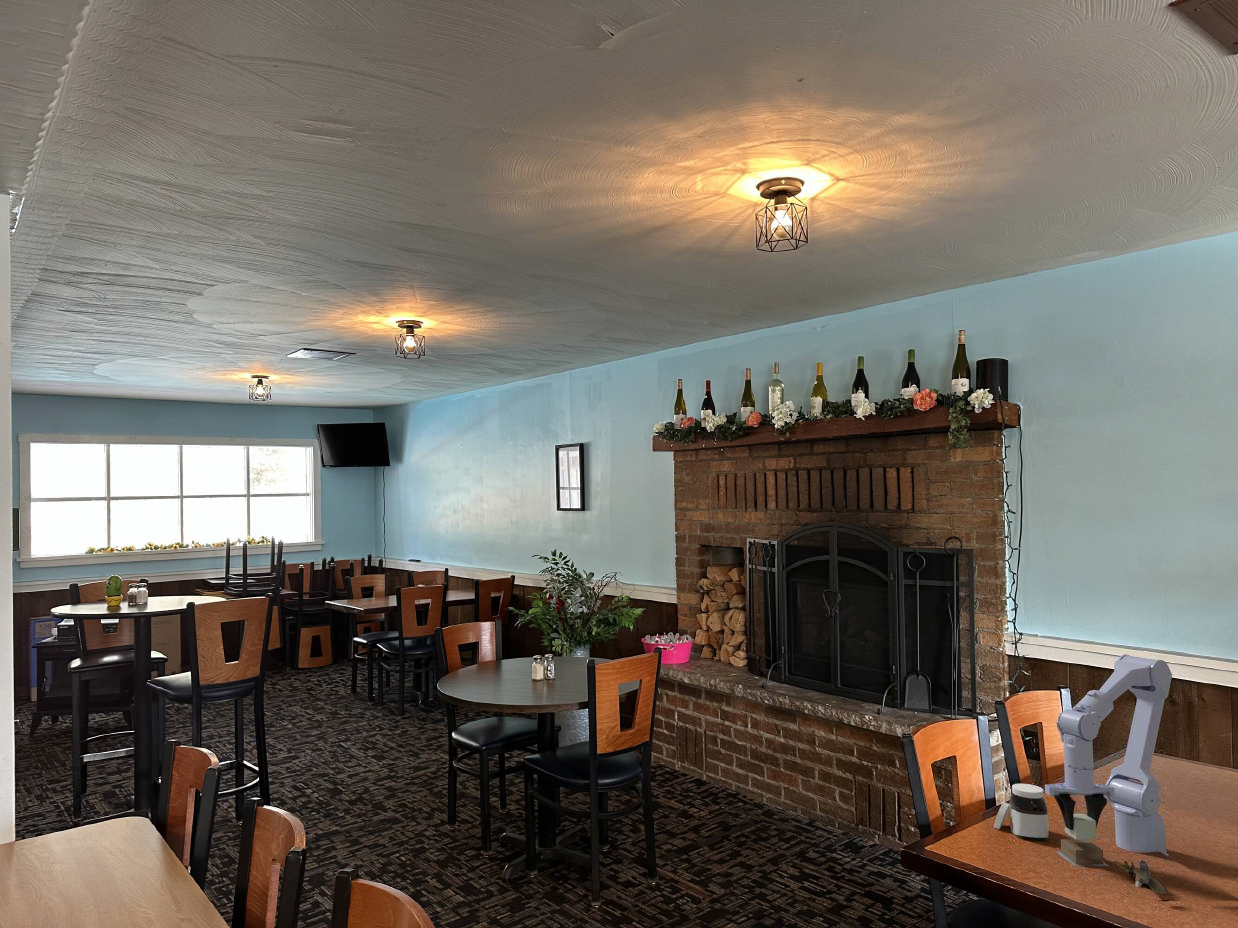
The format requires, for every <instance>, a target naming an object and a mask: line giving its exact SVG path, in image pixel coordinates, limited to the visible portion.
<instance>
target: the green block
mask: <svg viewBox="0 0 1238 928" xmlns="http://www.w3.org/2000/svg"><path fill="white" fill-rule="evenodd" d="M1064 833H1065V834H1067V835H1068V836H1070V837H1072V839H1076V840H1089V841H1091V840H1092V841H1096V840H1097V829H1096V821H1095V820H1093V819H1092V818H1090V817H1089V816H1087V814H1086V813H1074V828H1073V830H1070V829H1068V828H1067V827H1065V826H1064Z"/></svg>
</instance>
